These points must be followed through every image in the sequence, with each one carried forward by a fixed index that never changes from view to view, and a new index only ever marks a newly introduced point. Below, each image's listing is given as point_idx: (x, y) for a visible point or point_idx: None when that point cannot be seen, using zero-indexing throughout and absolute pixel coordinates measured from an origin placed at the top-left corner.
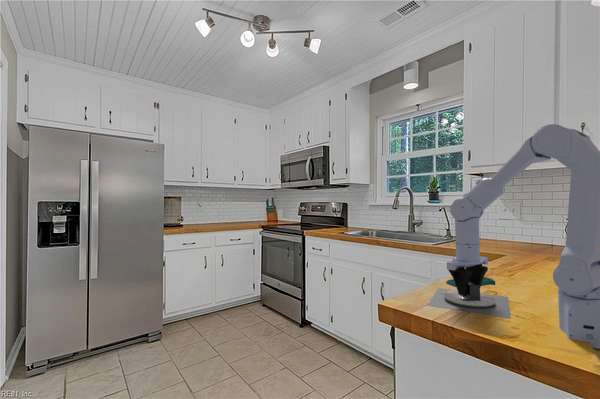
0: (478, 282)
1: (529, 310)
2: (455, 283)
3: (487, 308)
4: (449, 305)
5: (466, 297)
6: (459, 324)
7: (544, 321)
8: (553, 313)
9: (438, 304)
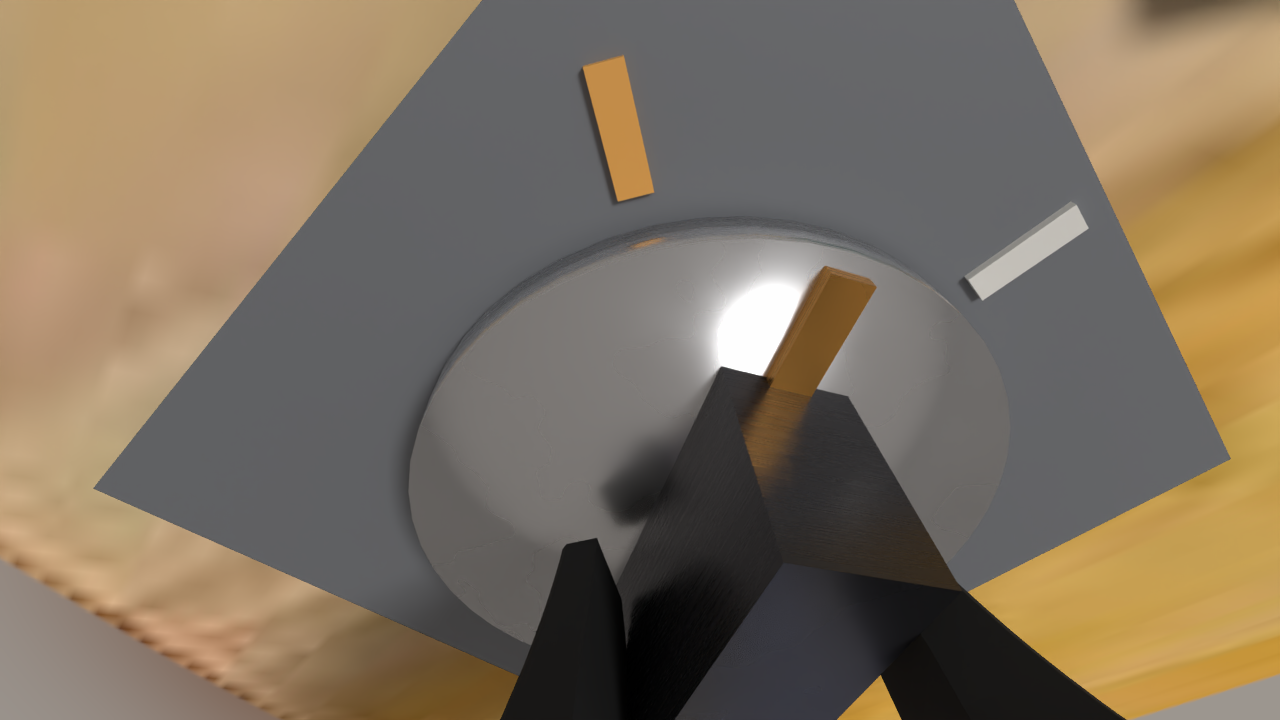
0: (902, 717)
1: (1037, 595)
2: (512, 693)
3: None
4: (379, 532)
5: (633, 556)
6: (316, 680)
7: (886, 703)
8: (1097, 645)
9: (258, 492)
